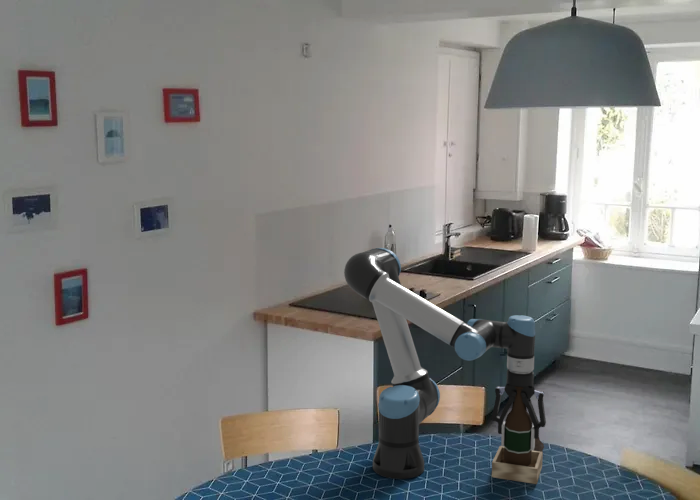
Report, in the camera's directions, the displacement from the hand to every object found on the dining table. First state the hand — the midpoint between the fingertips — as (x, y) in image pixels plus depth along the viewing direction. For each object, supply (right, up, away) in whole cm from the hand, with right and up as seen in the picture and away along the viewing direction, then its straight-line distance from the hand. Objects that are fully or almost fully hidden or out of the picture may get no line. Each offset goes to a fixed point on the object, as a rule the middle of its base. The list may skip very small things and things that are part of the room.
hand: (517, 446), depth 215 cm
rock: (+5, -6, +15) cm, 17 cm away
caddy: (0, -8, +1) cm, 8 cm away
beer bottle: (0, -5, +1) cm, 5 cm away
